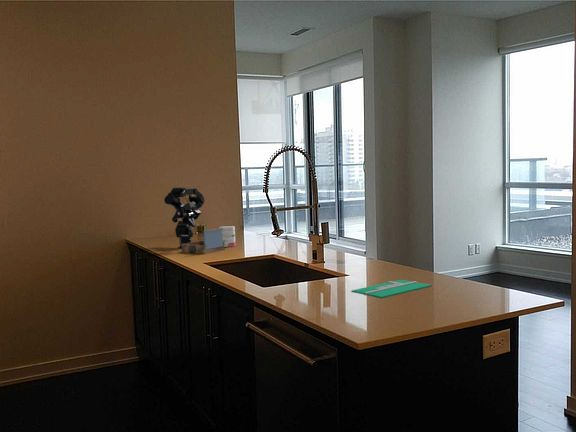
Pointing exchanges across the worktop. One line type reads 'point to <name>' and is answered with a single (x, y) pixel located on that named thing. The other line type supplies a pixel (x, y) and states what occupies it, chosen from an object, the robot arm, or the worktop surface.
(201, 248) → the tray
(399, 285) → the sign
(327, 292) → the worktop surface
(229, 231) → the ink box
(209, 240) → the tailgate
